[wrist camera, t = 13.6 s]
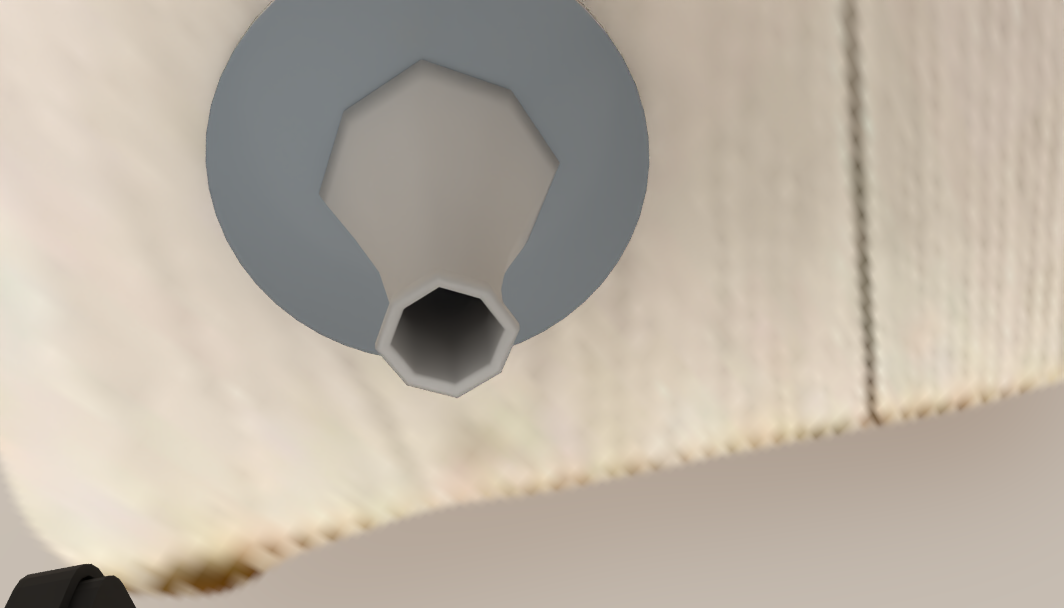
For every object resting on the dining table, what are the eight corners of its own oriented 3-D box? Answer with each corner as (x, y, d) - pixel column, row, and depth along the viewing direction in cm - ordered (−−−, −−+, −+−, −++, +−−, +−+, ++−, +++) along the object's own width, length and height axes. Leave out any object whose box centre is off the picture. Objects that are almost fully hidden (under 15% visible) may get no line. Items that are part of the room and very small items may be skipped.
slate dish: (620, -98, 29) (626, -93, 28) (659, 308, 36) (665, 322, 35) (148, -15, 29) (140, -7, 28) (280, 376, 36) (276, 392, 35)
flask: (414, 13, 29) (413, 131, 21) (598, 154, 32) (664, 310, 23) (279, 195, 32) (227, 369, 23) (460, 312, 34) (475, 506, 26)
